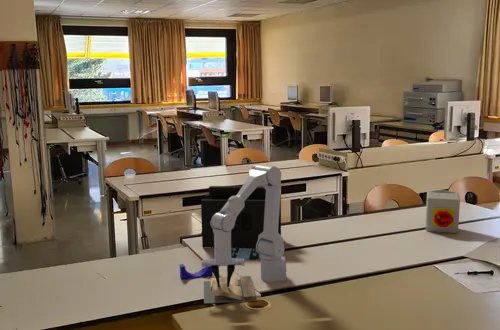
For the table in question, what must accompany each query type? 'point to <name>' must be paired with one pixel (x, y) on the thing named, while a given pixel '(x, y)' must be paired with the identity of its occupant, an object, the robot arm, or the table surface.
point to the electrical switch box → (442, 211)
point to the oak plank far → (224, 279)
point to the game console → (237, 219)
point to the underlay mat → (215, 298)
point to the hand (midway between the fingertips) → (223, 286)
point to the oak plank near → (227, 290)
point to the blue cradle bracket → (201, 273)
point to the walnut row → (247, 288)
